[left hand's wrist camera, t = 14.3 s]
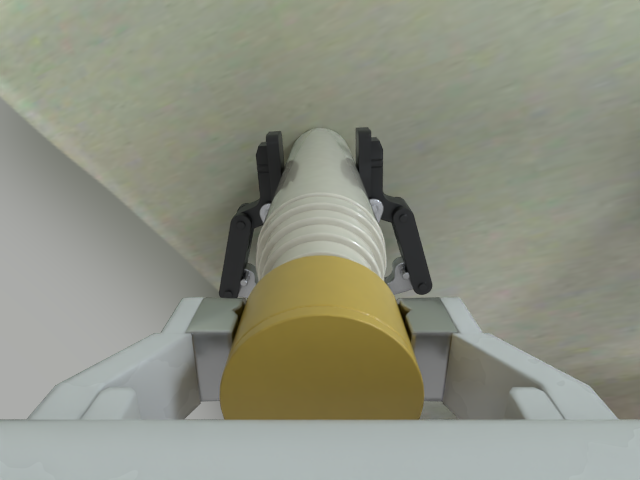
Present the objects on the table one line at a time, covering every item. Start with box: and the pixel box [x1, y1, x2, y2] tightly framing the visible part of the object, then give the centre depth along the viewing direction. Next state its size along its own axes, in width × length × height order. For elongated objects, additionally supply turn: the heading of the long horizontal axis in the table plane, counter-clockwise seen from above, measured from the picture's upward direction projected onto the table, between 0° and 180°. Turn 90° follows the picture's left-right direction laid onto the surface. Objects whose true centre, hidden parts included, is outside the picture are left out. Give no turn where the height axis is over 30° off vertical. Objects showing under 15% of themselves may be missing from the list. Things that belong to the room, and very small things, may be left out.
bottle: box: [256, 128, 387, 282], centre depth 19 cm, size 4×4×24 cm
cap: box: [219, 255, 424, 420], centre depth 9 cm, size 4×4×3 cm
